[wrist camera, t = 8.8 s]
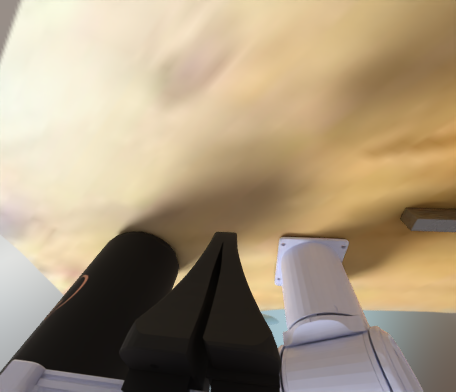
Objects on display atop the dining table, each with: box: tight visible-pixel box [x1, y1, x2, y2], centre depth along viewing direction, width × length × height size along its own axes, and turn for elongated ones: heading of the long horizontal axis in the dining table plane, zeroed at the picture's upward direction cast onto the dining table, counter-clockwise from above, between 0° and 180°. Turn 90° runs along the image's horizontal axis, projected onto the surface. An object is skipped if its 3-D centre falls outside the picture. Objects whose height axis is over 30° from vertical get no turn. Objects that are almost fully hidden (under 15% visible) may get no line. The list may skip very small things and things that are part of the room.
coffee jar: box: [0, 232, 179, 380], centre depth 22 cm, size 11×11×18 cm
